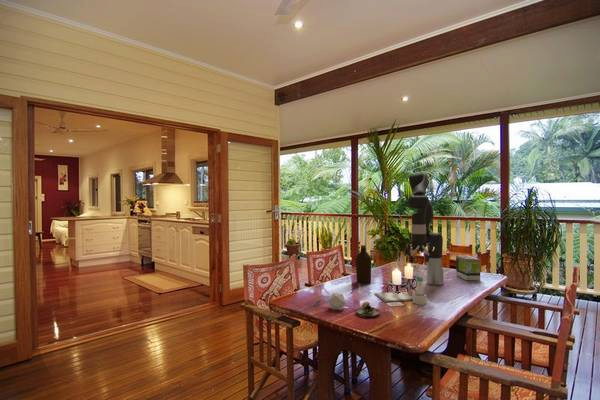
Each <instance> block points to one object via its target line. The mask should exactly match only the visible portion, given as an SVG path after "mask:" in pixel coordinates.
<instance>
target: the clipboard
mask: <svg viewBox="0 0 600 400" xmlns="http://www.w3.org/2000/svg"><path fill="white" fill-rule="evenodd" d="M395 292H396V291H390V292H386V291H385V292H374V296H376V297H377V298H379V299H380V300H381V301H382V302H384V303H385V304H386V303H394V302H401V303H403V302H413V293H411V292H409V291H407V292H402V291H400V292H401V293H399V294H397V293H395Z"/></svg>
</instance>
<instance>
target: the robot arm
mask: <svg viewBox="0 0 600 400" xmlns="http://www.w3.org/2000/svg"><path fill="white" fill-rule="evenodd" d="M408 182H409V186H410V189H411V192H412V193H411V194H410V196H409V197H408V200H407V205H408V207H409V208H410V209H413V210H414V209H416V211H417V212H415V213H412V214H411V226H410V231H411V235H410V237H411V243H406V244H405V254H406V255H407V256H408V260H409V262H410V264H414V255H415V254H416V252H423V253H424V262H425V263H426V284H428V285H432V286H441V285H444V284H445V283H444V269H443V256H442V255H443V242H444V239H443V235H442V234H441V233H440V232H439V233H438V232H431V230H430V229H431V228H430V225H431V223H432V221H433V219H434V210H433V206H432V205H433V204H431V203H430V201H429V198H428V196H426V192H427V189H428V188H429V184H430V181H429V176H428V174H427V173H426V172H419V173H414V174H410V175H409V176H408ZM426 247H427V248H426Z"/></svg>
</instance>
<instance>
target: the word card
mask: <svg viewBox="0 0 600 400" xmlns="http://www.w3.org/2000/svg"><path fill="white" fill-rule="evenodd" d="M385 304H386V305H387V306H389V307H399V306H400V307H402V306H403V307H404V306H405V304H403V302H388V303H385Z"/></svg>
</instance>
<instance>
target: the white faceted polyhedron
mask: <svg viewBox="0 0 600 400" xmlns="http://www.w3.org/2000/svg"><path fill="white" fill-rule="evenodd" d="M328 303H329V306H330V308H331V310H334V311H335V310H336V311H342V310H343V308H344V307H345V305H346V304H347V302H346V299H345V296H344V294H343V293H336V292H333V293H332V294H331V296H330V298H328Z"/></svg>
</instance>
